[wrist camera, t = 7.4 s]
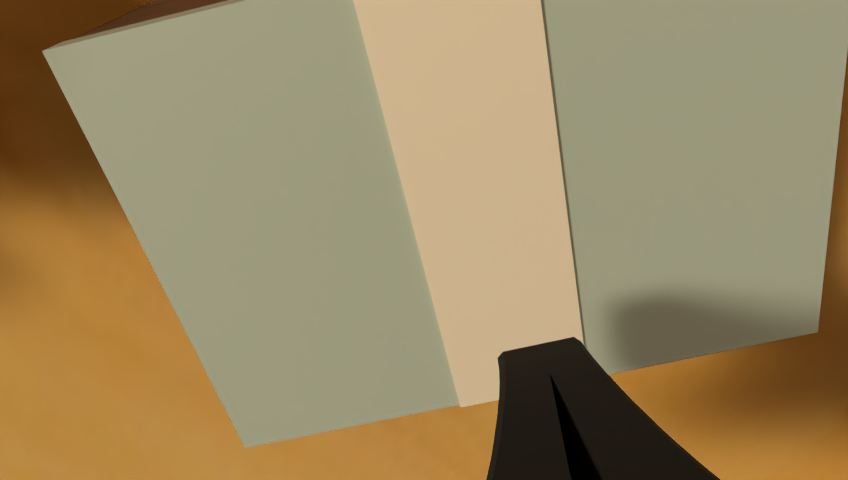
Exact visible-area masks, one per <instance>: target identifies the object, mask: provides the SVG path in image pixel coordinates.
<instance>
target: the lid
mask: <svg viewBox="0 0 848 480" xmlns="http://www.w3.org/2000/svg"><path fill="white" fill-rule="evenodd" d="M847 51H848V0H227V1H223V2H219V3H215V4H211V5H207V6H203V7H199V8H195V9H191V10H187V11H183V12H179V13H175V14H171V15H167V16H163V17H159V18H155V19H151V20H147V21H143V22H139V23H135V24H131V25H127V26H123V27H119V28H115V29H111V30H107V31H103V32H99V33H95V34H91V35H87V36H83V37H79V38H75V39H71V40H67V41H63V42H60V43H58V44H56V45H54V46H52V47H50V48H47V49H45V50H43V51H42V52H43V54H44V56H45V58H46V60H47V62H48V64H49V66H50V68H51V70H52V72H53V74H54V76H55V78H56V80H57V82H58V84H59V86H60V87H61V89H62V91H63V93H64V95H65V97H66V99H67V101H68V103H69V105H70V107H71V109H72V111H73V113H74V115H75V117H76V119H77V121H78V123H79V125H80V127H81V128H82V130H83V132H84V134H85V136H86V138H87V140H88V142H89V144H90V146H91V148H92V150H93V152H94V154H95V156H96V158H97V160H98V162H99V164H100V166H101V168H102V169H103V171H104V173H105V175H106V177H107V179H108V181H109V183H110V185H111V187H112V189H113V191H114V193H115V195H116V197H117V199H118V201H119V203H120V205H121V207H122V208H123V210H124V212H125V214H126V216H127V218H128V220H129V222H130V224H131V226H132V228H133V230H134V232H135V234H136V236H137V238H138V240H139V242H140V244H141V246H142V248H143V249H144V251H145V253H146V255H147V257H148V259H149V261H150V263H151V265H152V267H153V269H154V271H155V273H156V275H157V277H158V279H159V281H160V283H161V285H162V287H163V289H164V290H165V292H166V294H167V296H168V298H169V300H170V302H171V304H172V306H173V308H174V310H175V312H176V314H177V316H178V318H179V320H180V322H181V324H182V326H183V328H184V329H185V331H186V333H187V335H188V337H189V339H190V341H191V343H192V345H193V347H194V349H195V351H196V353H197V355H198V357H199V359H200V361H201V363H202V365H203V367H204V369H205V370H206V372H207V374H208V376H209V378H210V380H211V382H212V384H213V386H214V388H215V390H216V392H217V394H218V396H219V398H220V400H221V402H222V404H223V406H224V408H225V410H226V411H227V413H228V415H229V417H230V419H231V421H232V423H233V425H234V427H235V429H236V431H237V433H238V435H239V437H240V439H241V441H242V443H243V445H244V447H245V448H248V447H253V446H258V445H263V444H268V443H273V442H278V441H283V440H288V439H293V438H298V437H303V436H308V435H313V434H317V433H322V432H327V431H332V430H337V429H342V428H347V427H352V426H357V425H362V424H367V423H372V422H377V421H382V420H387V419H392V418H397V417H402V416H407V415H412V414H416V413H421V412H426V411H431V410H436V409H441V408H446V407H451V406H456V405H460V408H461V407H466V406H471V405H476V404H481V403H486V402H491V401H495V400H499V387H500V379H499V365H498V359H497V358H498V357H499V356H500V355H501V353H502V352H504V351H508V350H513V349H518V348H523V347H528V346H532V345H537V344H542V343H547V342H552V341H556V340H561V339H566V338H571V337H575V338H576V339H578V340H580V341H581V342H582V343H583V345H584V346H585V348H586V349H587V350H588V351H589V353H590V354H591V355H592V356H593V358H594V359H595V360H596V361H597V362H598V364H599V365H600V366H601V367H602V368H603V369H604V371H605V372H606V373H607V374H608V375H610V374H614V373H619V372H624V371H629V370H634V369H639V368H644V367H649V366H654V365H659V364H664V363H669V362H674V361H679V360H684V359H689V358H694V357H699V356H704V355H709V354H713V353H718V352H723V351H728V350H733V349H738V348H743V347H748V346H753V345H758V344H763V343H768V342H773V341H778V340H783V339H788V338H793V337H798V336H803V335H808V334H812V333H817V332H818V326H819V317H820V307H821V298H822V288H823V279H824V269H825V260H826V250H827V241H828V231H829V222H830V212H831V203H832V194H833V184H834V175H835V165H836V156H837V146H838V137H839V127H840V118H841V108H842V99H843V89H844V80H845V70H846V61H847Z"/></svg>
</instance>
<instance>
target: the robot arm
mask: <svg viewBox="0 0 848 480" xmlns="http://www.w3.org/2000/svg"><path fill="white" fill-rule="evenodd" d="M497 359H498V365H499V379H500V387H499V404H498V416H497V423H496V430H495V437H494V444H493V451H492V457H491V462H490V466H489V471H488V476H487V480H720V479H719V478H718V477H716V476H715V475H714V474H713V473H711V472H710V471H709V470H708V469H707V468H705V467H704V466H703V465H702V464H701V463H699V462H698V461H697V460H696V459H695V458H694V457H692V456H691V455H690V454H689V453H688V452H687V451H686V450H684V449H683V448H682V447H681V446H680V445H679V444H677V443H676V442H675V441H674V440H673V439H672V438H671V437H670V436H669V435H668V434H666V433H665V432H664V431H663V430H662V429H661V428H660V427H659V426H658V425H657V424H656V423H655V422H654V421H653V420H652V419H651V418H650V417H649V416H648V415H647V414H646V413H645V412H644V411H643V410H641V409H640V408H639V407H638V406H637V405H636V404H635V403H634V402H633V401H632V400H631V399H630V398H629V397H628V396H627V394H626V393H625V392H624V391H623V390H622V389H621V388H620V387H619V386H618V385H617V384H616V383H615V382H614V381H613V379H612V378H611V377H610V376H609V375H608V374H607V373H606V372H605V371H604V369H603V368H602V367H601V366H600V365H599V364H598V362H597V361H596V360H595V359H594V358H593V356H592V355H591V354H590V353H589V351H588V350H587V349H586V348H585V346H584V345H583V343H582V342H581V341H580V340H578V339H576V338H575V337H571V338H566V339H561V340H556V341H552V342H547V343H542V344H537V345H532V346H528V347H523V348H518V349H513V350H508V351H504V352H502V353H501V355H500V356H499V357H498V358H497Z"/></svg>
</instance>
